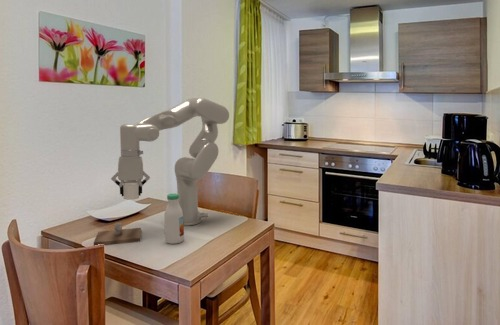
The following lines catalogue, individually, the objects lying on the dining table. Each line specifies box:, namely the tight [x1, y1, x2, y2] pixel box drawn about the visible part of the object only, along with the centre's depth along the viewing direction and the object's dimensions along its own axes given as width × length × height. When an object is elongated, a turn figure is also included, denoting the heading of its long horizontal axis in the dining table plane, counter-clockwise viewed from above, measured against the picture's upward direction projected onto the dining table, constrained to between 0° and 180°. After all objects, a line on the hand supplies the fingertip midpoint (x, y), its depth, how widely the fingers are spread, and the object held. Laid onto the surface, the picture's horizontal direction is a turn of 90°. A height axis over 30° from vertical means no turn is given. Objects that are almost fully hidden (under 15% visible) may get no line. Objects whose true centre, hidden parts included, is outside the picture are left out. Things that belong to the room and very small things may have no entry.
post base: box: [93, 221, 142, 246], centre depth 150 cm, size 18×13×6 cm
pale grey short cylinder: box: [123, 180, 140, 201], centre depth 149 cm, size 6×6×7 cm
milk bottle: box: [163, 193, 185, 245], centre depth 146 cm, size 8×8×20 cm
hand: (131, 195), depth 150 cm, fingers closed on pale grey short cylinder, 6 cm apart
